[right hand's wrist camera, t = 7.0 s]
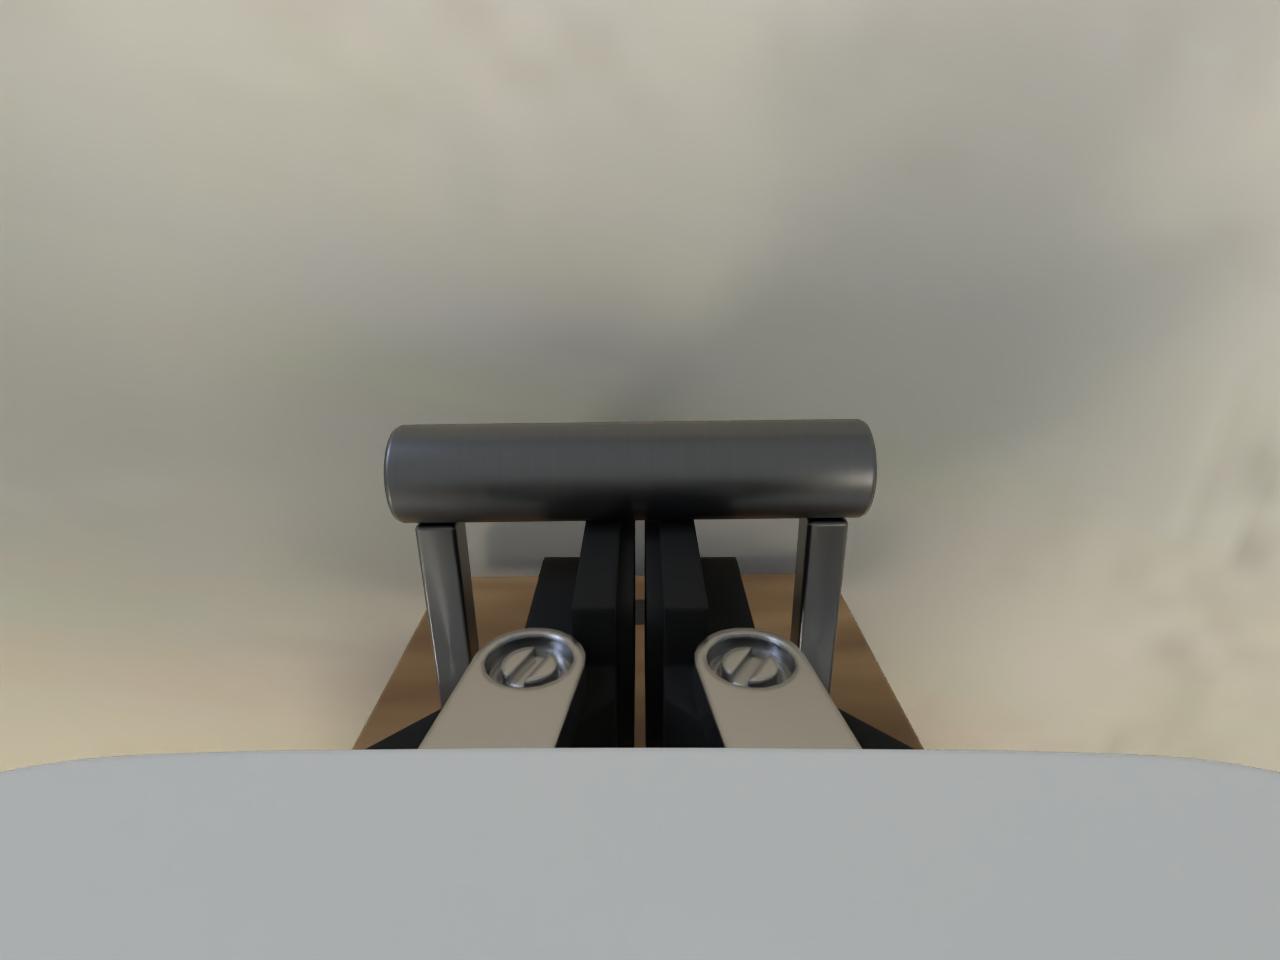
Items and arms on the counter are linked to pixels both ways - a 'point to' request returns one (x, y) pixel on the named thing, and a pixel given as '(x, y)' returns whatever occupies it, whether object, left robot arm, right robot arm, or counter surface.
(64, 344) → the counter surface
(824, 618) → the drawer
